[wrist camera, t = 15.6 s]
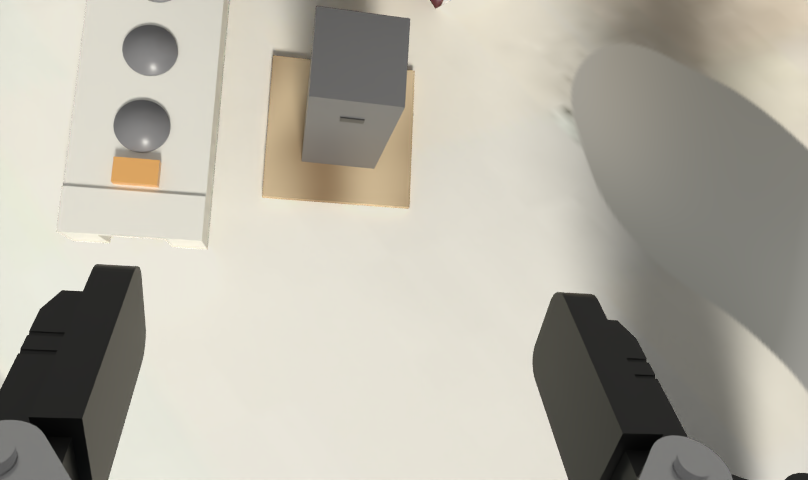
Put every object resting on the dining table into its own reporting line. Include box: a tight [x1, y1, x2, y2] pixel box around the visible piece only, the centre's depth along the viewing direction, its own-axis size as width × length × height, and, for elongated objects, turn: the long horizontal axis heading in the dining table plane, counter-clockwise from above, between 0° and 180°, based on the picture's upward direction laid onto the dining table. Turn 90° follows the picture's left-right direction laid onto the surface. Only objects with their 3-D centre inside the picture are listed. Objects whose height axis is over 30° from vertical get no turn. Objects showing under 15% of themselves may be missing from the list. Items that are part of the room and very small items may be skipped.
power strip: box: [56, 0, 229, 250], centre depth 41 cm, size 8×18×4 cm, turn 177°
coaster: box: [262, 55, 415, 209], centre depth 44 cm, size 9×9×1 cm
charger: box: [302, 6, 410, 169], centre depth 38 cm, size 4×7×11 cm
